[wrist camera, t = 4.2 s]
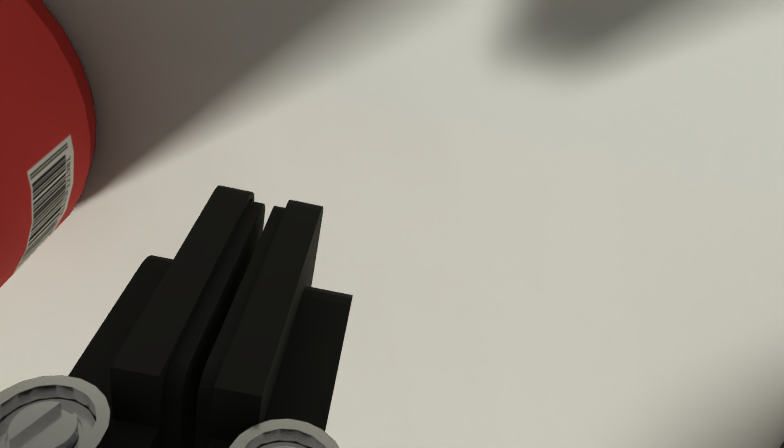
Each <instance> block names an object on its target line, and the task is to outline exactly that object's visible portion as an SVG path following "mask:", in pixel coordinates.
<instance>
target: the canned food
mask: <svg viewBox="0 0 784 448" xmlns="http://www.w3.org/2000/svg"><path fill="white" fill-rule="evenodd" d="M95 140H96V117H95V111H94V105H93V99H92V93H91V90H90V87H89V84H88V81H87V78H86V76H85V73H84V70H83V67H82V64H81V61H80V59H79V57H78V56H77V54H76V52H75V50H74V48H73V46H72V45H71V43H70V41H69V39H68V37H67V36H66V34H65V32H64V30H63V28H62V27H61V26H60V25H59V23H58V22H57V21H56V19H55V18H54V17H53V15H52V14H51V13H50V11H49V10H48V9H47V7H46V6H45V5H44V3H43V2H42V1H41V0H0V287H1V286H2V285H3V284H4V283H5V282H6V281H7V280H8V279H9V278H10V277H11V276H12V275H13V274H14V273H15V271H16V270H17V269H18V268H19V267H20V266H21V265H22V264H23V263H24V262H25V261H26V260H27V259H28V258H29V257H30V256H31V255H32V254H33V253H34V251H35V250H36V249H37V248H38V247H39V246H40V245H41V244H42V243H43V242H44V241H45V240H46V239H47V238H48V237H49V236H50V235H51V234H52V232H53V231H54V230H55V229H56V228H57V227H58V226H59V225H60V224H61V223H62V222H63V221H64V220H65V219H66V218H67V217H68V216H69V215H70V213H71V212H72V210H73V208H74V206H75V205H76V203H77V201H78V199H79V198H80V196H81V194H82V192H83V189H84V186H85V183H86V180H87V176H88V173H89V170H90V166H91V162H92V158H93V155H94V151H95Z"/></svg>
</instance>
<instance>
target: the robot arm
mask: <svg viewBox="0 0 784 448" xmlns="http://www.w3.org/2000/svg"><path fill="white" fill-rule="evenodd" d="M264 215H265V204H263V203H258V202H254V194H253V192H249V191H244V190H240V189H235V188H230V187H225V186H220V185H219V186H217V187H216V189H215V190H214V192H213V194H212V195H211V197H210V199H209V200H208V202H207V204H206V205H205V207H204V209H203V210H202V212H201V214H200V216H199V217H198V219H197V221H196V222H195V224H194V226H193V227H192V229H191V231H190V232H189V234H188V236H187V238H186V239H185V241H184V243H183V244H182V246H181V248H180V249H179V251H178V253H177V254H176V256H175V258H174V259H168V258H163V257H158V256H153V255H151V256H148V257H147V258H146V259H145V260H144V261H143V262H142V264H141V265H140V267H139V268H138V270H137V271H136V273H135V274H134V276H133V277H132V279H131V281H130V282H129V284H128V285H127V287H126V288H125V290H124V291H123V293H122V294H121V296H120V297H119V299H118V300H117V302H116V304H115V305H114V307H113V308H112V310H111V311H110V313H109V314H108V316H107V317H106V319H105V320H104V322H103V323H102V325H101V327H100V328H99V330H98V331H97V333H96V334H95V336H94V337H93V339H92V340H91V342H90V343H89V345H88V346H87V348H86V349H85V351H84V353H83V354H82V356H81V357H80V359H79V360H78V362H77V363H76V365H75V366H74V368H73V369H72V371H71V372H70V374H69V376H63V375H58V376H41V377H37V378H33V379H29V380H25V381H21V382H19V383H17V384H15V385H13V386H11V387H9V388H7V389H5V390H3V391H1V392H0V448H339V447H338V445H337V443H336V441H334V440H333V439H332V438H331V437H330V436H329V435H328V434H327V433H326V432H325V429H326V424H327V419H328V414H329V410H330V405H331V400H332V395H333V390H334V385H335V380H336V375H337V370H338V365H339V361H340V356H341V351H342V346H343V341H344V336H345V331H346V326H347V321H348V316H349V311H350V306H351V301H352V296H353V295H349V294H344V293H339V292H334V291H329V290H324V289H318V288H313V287H311V285H312V279H313V272H314V266H315V260H316V253H317V247H318V241H319V234H320V228H321V222H322V215H323V206H318V205H313V204H308V203H303V202H299V201H294V200H289V201H288V203H287V206H286V208H283V207H278V206H274V207H273V209H272V212H271V214H270V216H269V219H268V221H267V223H266V225H265V228H264V230H263V225H264Z"/></svg>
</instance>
